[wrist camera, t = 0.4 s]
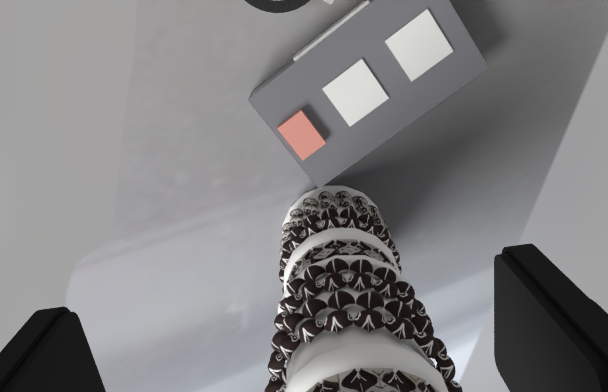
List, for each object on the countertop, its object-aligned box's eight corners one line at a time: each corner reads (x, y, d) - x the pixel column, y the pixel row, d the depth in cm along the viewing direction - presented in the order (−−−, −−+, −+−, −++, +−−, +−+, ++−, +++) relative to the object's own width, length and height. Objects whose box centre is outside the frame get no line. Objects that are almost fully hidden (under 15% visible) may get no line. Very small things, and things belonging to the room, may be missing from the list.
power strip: (410, -38, 33) (426, -44, 29) (471, 62, 35) (494, 69, 31) (250, 89, 36) (244, 99, 32) (316, 173, 38) (319, 192, 34)
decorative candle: (346, 299, 42) (411, 657, 19) (256, 247, 40) (203, 575, 17) (411, 218, 40) (580, 519, 16) (318, 159, 38) (356, 403, 14)
